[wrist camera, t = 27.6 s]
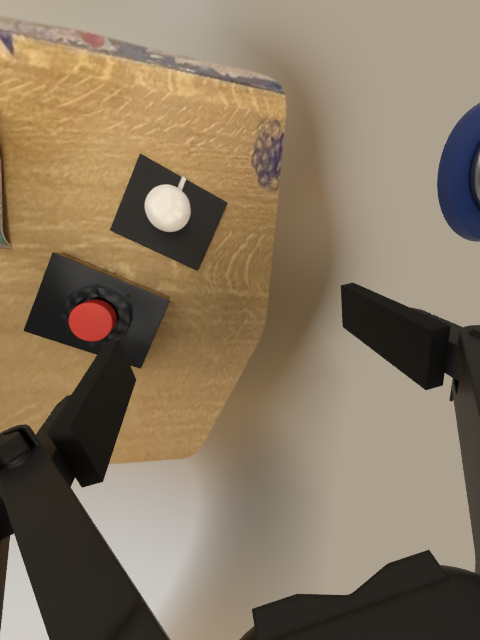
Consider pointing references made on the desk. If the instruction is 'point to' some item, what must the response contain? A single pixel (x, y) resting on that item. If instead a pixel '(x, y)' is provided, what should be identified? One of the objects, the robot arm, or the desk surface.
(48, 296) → the button box
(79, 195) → the desk surface
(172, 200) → the milkshake
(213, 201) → the mouse pad
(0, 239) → the handheld gaming console
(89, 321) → the button
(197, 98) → the desk surface
